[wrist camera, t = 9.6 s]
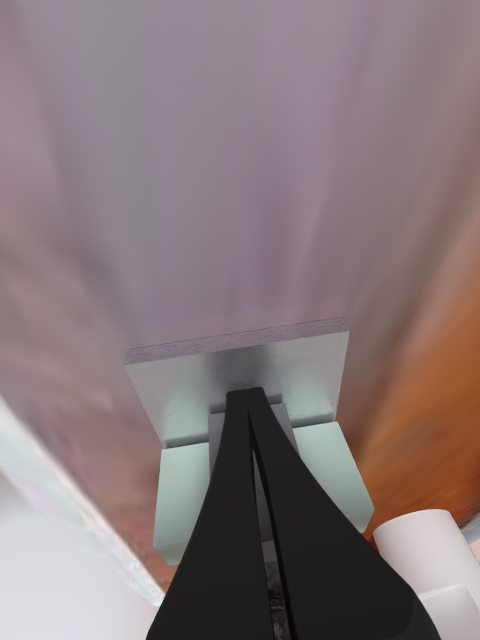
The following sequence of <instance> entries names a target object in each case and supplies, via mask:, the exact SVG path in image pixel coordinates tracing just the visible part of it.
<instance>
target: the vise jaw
mask: <svg viewBox="0 0 480 640" xmlns="http://www.w3.org/2000/svg"><path fill="white" fill-rule="evenodd" d="M270 406H271V408H272V410H273V412H274V414H275V416H276V418H277V420H278V422H279V424H280V425H281V427H282V429H283V430H284V432H285V434H286V436H287V437H288V439H289V441H290V442H291V444H292V445H293V447H294V448H295V450H296V452H297V453H298V455H299V456H300V458H301V459H302V461H303V462H304V463H305V465H306V466H307V468H308V469H309V471H310V472H311V473H312V475H313V476H314V477H315V479H316V480H317V481H318V483H319V484H320V485H321V487H322V488H323V489H324V491H325V492H326V493H327V494H328V496H329V497H330V498H331V499H332V501H333V502H334V503H335V504H336V506H337V507H338V508H339V509H340V510H341V511H342V513H343V514H344V515H345V516H346V517H347V518H348V520H349V521H350V522H351V523H352V524H353V525H354V527H355V528H356V529H357V530H358V531H359V532H360V533H362V532H364V531H365V529H366V527H367V525H368V523H369V520H370V518H371V516H372V514H373V512H374V509H375V508H374V506H373V504H372V501H371V499H370V497H369V494H368V492H367V490H366V487H365V485H364V483H363V480H362V478H361V476H360V473H359V471H358V469H357V466H356V464H355V462H354V459H353V457H352V455H351V452H350V450H349V448H348V445H347V443H346V440H345V438H344V436H343V433H342V431H341V429H340V426H339V424H338V422H330V423H324V424H318V425H312V426H306V427H299V428H293V429H292V425H291V422H290V418H289V415H288V411H287V408H286V404H285V403H280V404H273V405H270ZM224 418H225V412H223V413H217V414H211V415H208V436H209V442H207V443H200V444H194V445H188V446H182V447H176V448H170V449H163V450H162V454H161V464H160V474H159V484H158V495H157V505H156V515H155V525H154V535H153V545H152V547H153V548H154V549H155V551H156V552H157V553H158V554H159V555H160V556H161V557H162V558H163V560H164V561H165V562H166V563H167V564H168V565H169V566H171V565H177V564H180V561H181V559H182V557H183V554H184V552H185V550H186V547H187V545H188V542H189V540H190V537H191V535H192V532H193V529H194V527H195V524H196V521H197V519H198V516H199V513H200V510H201V508H202V505H203V502H204V499H205V496H206V493H207V489H208V486H209V483H210V480H211V476H212V473H213V469H214V465H215V461H216V457H217V454H218V449H219V445H220V440H221V435H222V430H223V424H224ZM253 457H254V471H255V486H256V500H257V513H258V522H259V529H260V536H261V543H262V550H263V557H264V562H270V561H275V560H277V557H276V551H275V545H274V539H273V533H272V527H271V521H270V516H269V511H268V507H267V503H266V499H265V494H264V490H263V486H262V482H261V478H260V474H259V470H258V466H257V462H256V458H255V454H254V450H253Z"/></svg>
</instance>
